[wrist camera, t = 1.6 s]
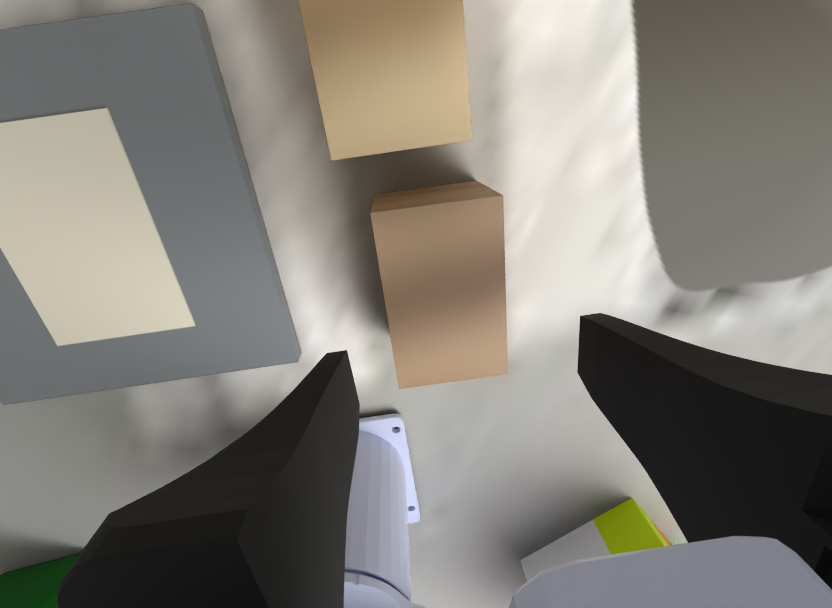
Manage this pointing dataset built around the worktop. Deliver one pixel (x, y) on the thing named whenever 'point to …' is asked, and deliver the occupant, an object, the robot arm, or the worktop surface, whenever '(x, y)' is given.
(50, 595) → the milk carton
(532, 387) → the worktop surface
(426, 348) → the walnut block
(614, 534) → the puzzle toy
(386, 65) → the oak block
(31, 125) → the board
